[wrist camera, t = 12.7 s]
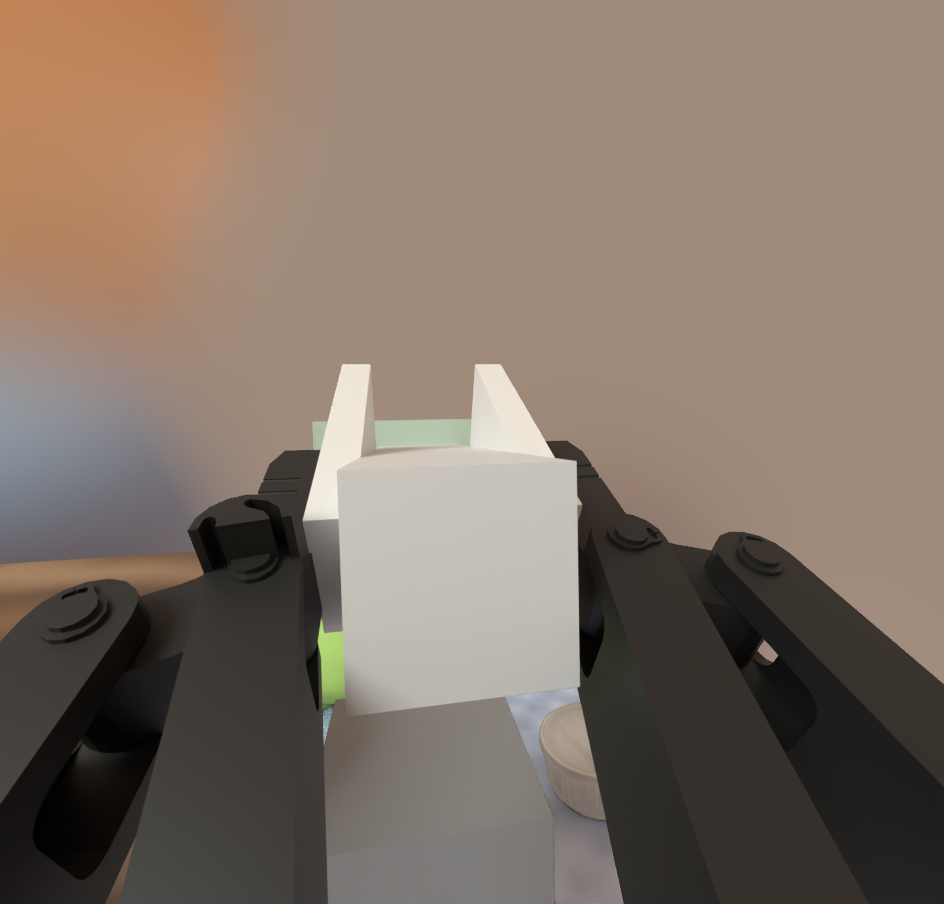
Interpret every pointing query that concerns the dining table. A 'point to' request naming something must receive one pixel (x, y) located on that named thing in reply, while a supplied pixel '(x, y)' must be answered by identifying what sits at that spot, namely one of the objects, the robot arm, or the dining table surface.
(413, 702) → the handled block
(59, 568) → the walnut stand
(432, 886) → the stepped grey block
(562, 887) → the dining table surface
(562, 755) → the ramekin
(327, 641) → the teapot
